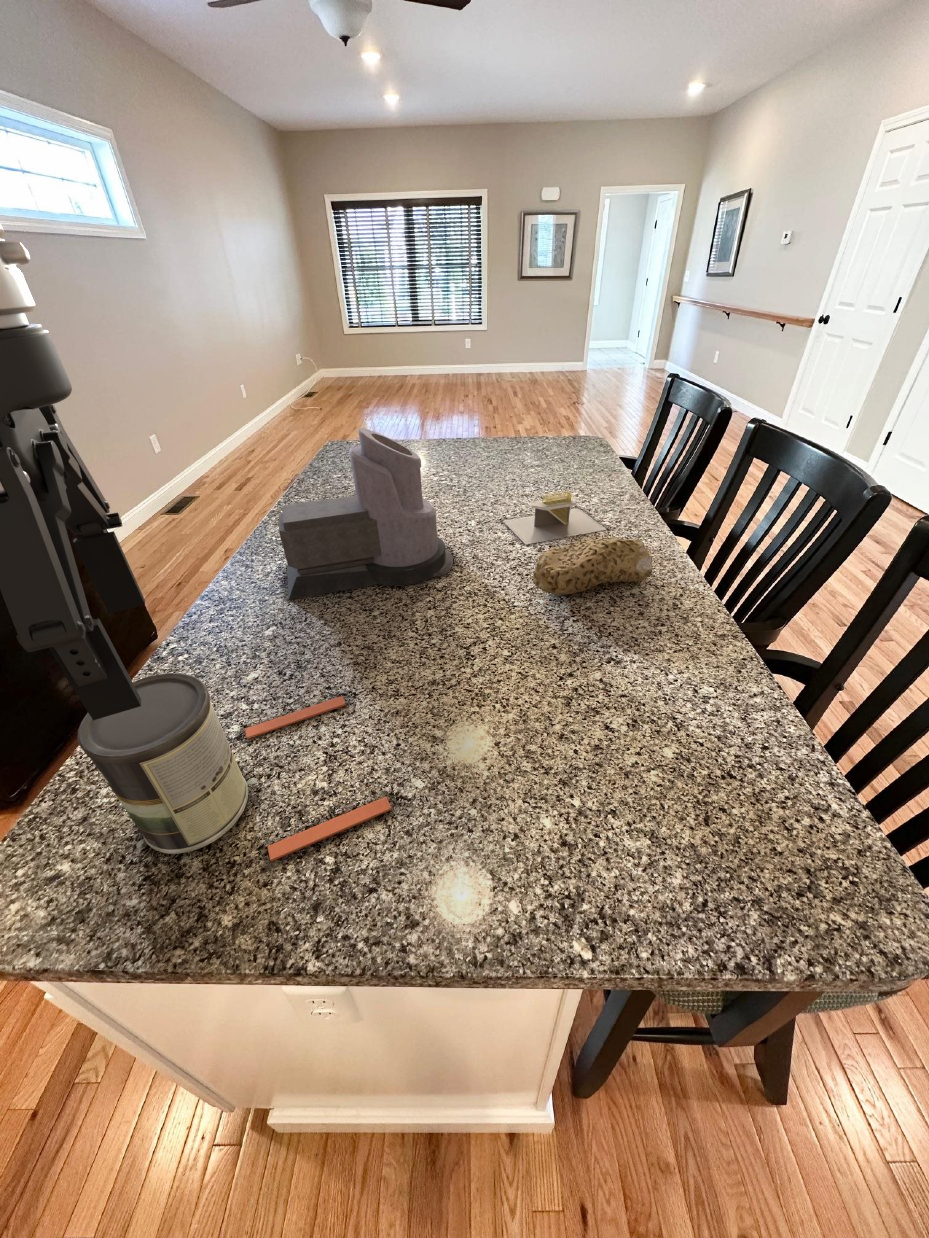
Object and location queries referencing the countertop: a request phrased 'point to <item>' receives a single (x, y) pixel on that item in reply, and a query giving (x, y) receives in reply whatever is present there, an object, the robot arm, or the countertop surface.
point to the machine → (365, 527)
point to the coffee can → (169, 764)
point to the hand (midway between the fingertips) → (123, 652)
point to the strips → (329, 826)
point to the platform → (553, 520)
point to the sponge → (591, 565)
